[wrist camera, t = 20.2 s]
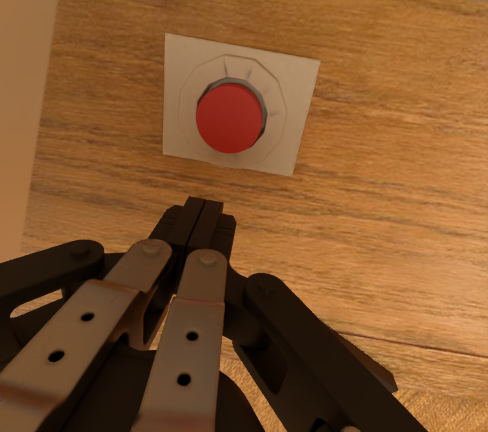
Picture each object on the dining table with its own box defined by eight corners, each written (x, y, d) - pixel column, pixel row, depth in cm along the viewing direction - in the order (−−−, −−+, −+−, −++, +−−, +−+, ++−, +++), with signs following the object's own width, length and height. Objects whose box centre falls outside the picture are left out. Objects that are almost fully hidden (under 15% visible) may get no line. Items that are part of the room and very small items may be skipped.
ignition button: (199, 140, 21) (193, 147, 19) (204, 77, 19) (198, 79, 17) (256, 150, 21) (255, 158, 19) (267, 88, 19) (267, 92, 17)
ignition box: (170, 146, 25) (153, 162, 21) (174, 33, 21) (154, 31, 17) (290, 167, 25) (293, 187, 21) (316, 59, 21) (325, 61, 17)
